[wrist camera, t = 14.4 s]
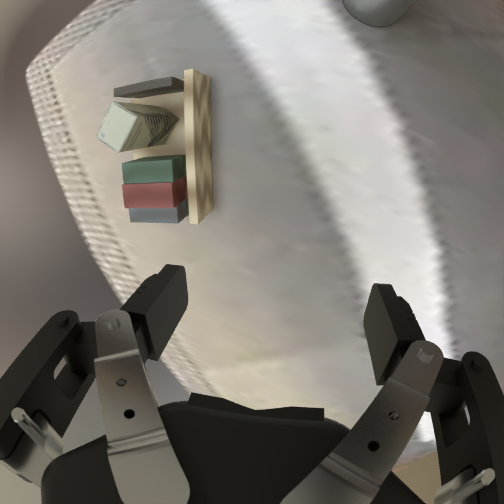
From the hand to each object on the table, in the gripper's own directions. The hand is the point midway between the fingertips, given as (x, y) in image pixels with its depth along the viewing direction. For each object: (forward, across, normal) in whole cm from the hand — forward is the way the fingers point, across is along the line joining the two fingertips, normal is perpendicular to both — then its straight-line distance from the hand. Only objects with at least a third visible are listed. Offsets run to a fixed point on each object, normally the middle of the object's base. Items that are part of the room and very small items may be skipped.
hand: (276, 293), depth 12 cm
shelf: (+32, +19, -4) cm, 37 cm away
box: (+31, +20, -7) cm, 37 cm away
